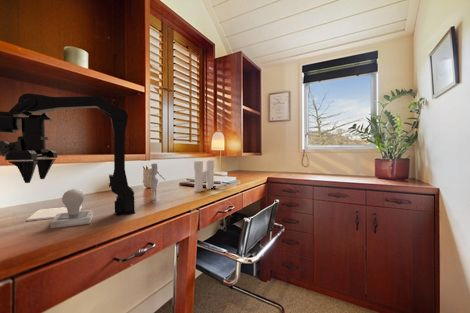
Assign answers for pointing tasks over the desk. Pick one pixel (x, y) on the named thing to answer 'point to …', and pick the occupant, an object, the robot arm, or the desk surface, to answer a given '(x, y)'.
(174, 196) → the desk surface
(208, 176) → the binoculars
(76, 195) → the lightbulb
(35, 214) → the mat
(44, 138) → the robot arm
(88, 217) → the grey flat square frame
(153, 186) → the human figurine
